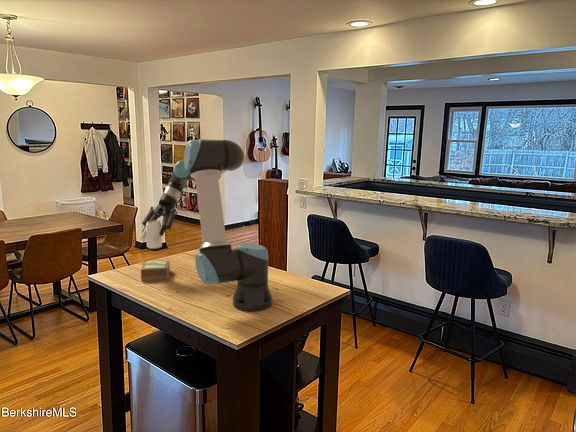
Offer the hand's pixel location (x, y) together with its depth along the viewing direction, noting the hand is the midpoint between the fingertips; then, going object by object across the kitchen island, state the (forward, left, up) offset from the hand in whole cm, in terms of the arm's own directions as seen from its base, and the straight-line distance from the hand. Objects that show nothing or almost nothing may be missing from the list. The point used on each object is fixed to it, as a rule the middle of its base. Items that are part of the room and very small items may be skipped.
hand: (149, 240), depth 183 cm
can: (+3, -2, -4) cm, 6 cm away
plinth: (+3, -2, -18) cm, 18 cm away
